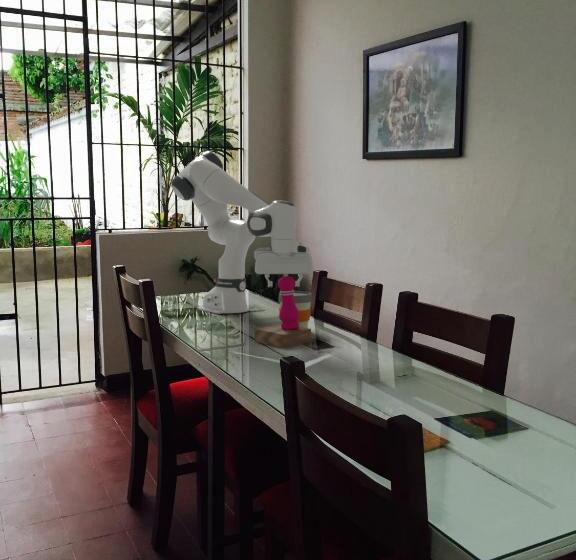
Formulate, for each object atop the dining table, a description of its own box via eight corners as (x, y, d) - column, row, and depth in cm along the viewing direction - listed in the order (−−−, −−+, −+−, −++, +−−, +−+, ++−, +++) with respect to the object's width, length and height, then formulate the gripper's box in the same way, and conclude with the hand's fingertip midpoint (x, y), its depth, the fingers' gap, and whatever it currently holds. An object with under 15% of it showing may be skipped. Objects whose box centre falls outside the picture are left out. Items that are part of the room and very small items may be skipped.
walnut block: (255, 342, 229) (255, 329, 228) (281, 336, 239) (281, 323, 238) (284, 349, 219) (284, 334, 219) (310, 342, 230) (311, 328, 229)
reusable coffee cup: (306, 328, 252) (306, 290, 250) (315, 335, 240) (316, 295, 238) (275, 330, 249) (275, 291, 247) (282, 336, 237) (282, 296, 235)
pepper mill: (277, 330, 227) (272, 273, 224) (284, 325, 234) (279, 270, 231) (296, 330, 224) (292, 273, 222) (303, 325, 231) (298, 270, 229)
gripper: (254, 248, 221) (254, 288, 222) (313, 247, 223) (313, 287, 225) (253, 246, 227) (253, 285, 229) (311, 246, 229) (310, 285, 231)
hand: (283, 286), depth 227 cm, fingers open, 8 cm apart
